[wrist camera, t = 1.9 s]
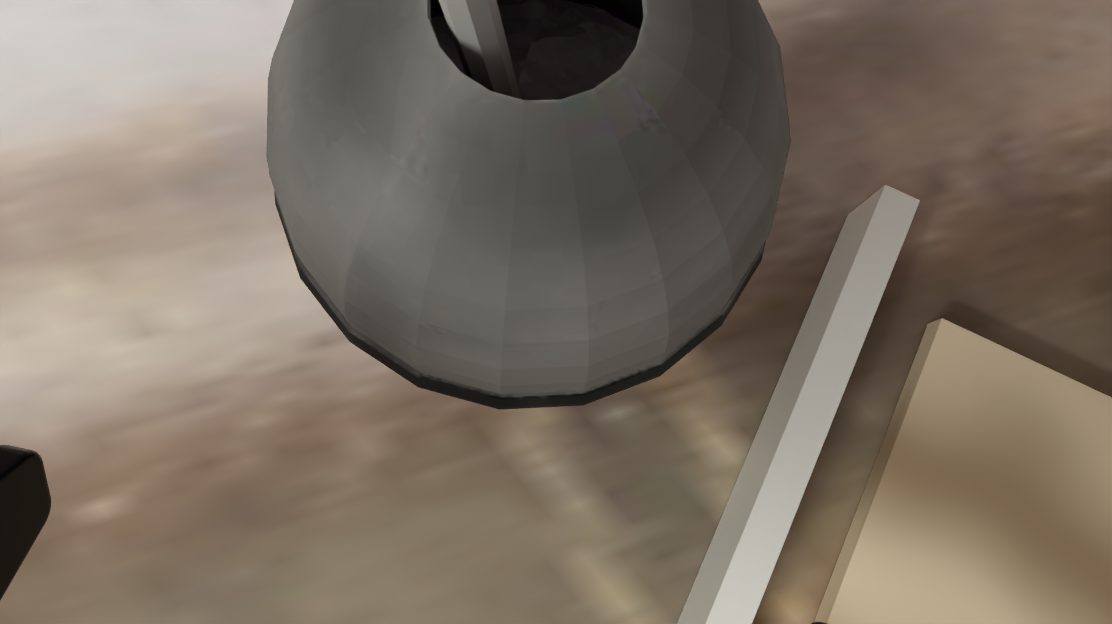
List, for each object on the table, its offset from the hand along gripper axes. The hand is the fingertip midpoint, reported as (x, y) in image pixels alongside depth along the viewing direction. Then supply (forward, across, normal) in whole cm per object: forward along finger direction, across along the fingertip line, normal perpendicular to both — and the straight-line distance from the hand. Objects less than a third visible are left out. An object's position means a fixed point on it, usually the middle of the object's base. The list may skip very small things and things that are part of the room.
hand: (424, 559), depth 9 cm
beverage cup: (+13, 0, +5) cm, 14 cm away
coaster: (+10, -15, +8) cm, 20 cm away
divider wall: (+12, -8, +6) cm, 15 cm away
